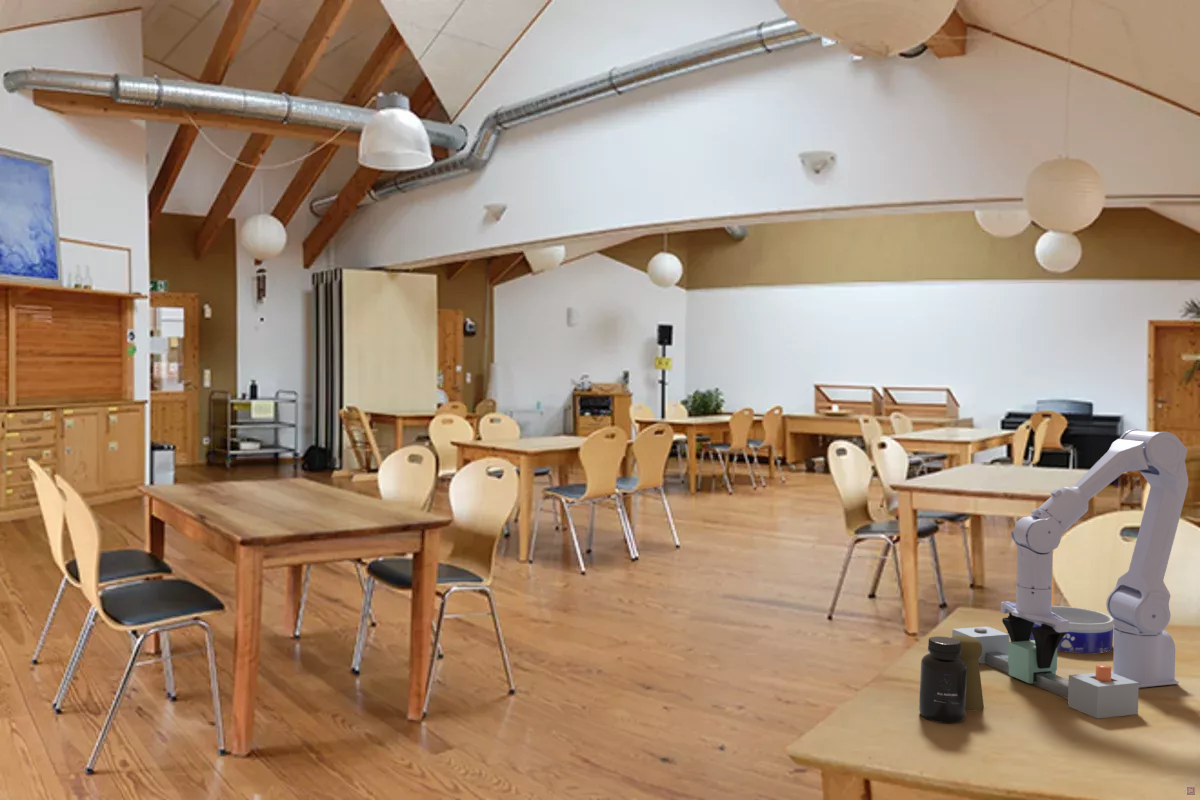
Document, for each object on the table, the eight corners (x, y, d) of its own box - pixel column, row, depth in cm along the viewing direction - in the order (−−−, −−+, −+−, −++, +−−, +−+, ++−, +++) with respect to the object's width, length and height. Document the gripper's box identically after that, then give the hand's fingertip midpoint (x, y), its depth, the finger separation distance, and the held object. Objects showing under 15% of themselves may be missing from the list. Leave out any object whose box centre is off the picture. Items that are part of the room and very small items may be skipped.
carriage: (1035, 672, 172) (1036, 640, 172) (1056, 680, 167) (1057, 647, 167) (1007, 674, 170) (1008, 642, 170) (1027, 683, 165) (1028, 649, 165)
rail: (999, 662, 179) (999, 651, 179) (1090, 700, 158) (1091, 688, 158) (985, 663, 178) (985, 653, 178) (1075, 702, 157) (1076, 690, 157)
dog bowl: (1034, 650, 188) (1034, 619, 188) (1023, 631, 203) (1024, 602, 203) (1120, 658, 184) (1121, 626, 184) (1103, 637, 198) (1104, 608, 198)
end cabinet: (1107, 701, 158) (1108, 671, 157) (1137, 714, 152) (1138, 682, 152) (1068, 705, 155) (1068, 675, 155) (1096, 718, 149) (1097, 686, 149)
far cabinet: (987, 652, 186) (987, 624, 186) (1008, 660, 180) (1009, 632, 180) (951, 655, 183) (952, 626, 183) (972, 664, 178) (973, 635, 178)
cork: (987, 712, 152) (988, 642, 152) (947, 708, 153) (948, 640, 153) (980, 699, 158) (981, 633, 158) (941, 696, 159) (942, 630, 159)
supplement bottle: (943, 727, 145) (945, 648, 145) (909, 712, 151) (911, 637, 151) (975, 720, 148) (977, 642, 148) (941, 706, 154) (942, 632, 154)
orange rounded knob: (1103, 688, 155) (1103, 663, 155) (1114, 692, 153) (1114, 667, 153) (1092, 689, 154) (1092, 664, 154) (1102, 694, 152) (1103, 668, 152)
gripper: (987, 578, 174) (985, 653, 174) (1045, 596, 160) (1043, 677, 160) (1019, 576, 176) (1018, 650, 176) (1079, 594, 162) (1077, 673, 162)
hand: (1032, 663), depth 169 cm, fingers closed on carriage, 5 cm apart
